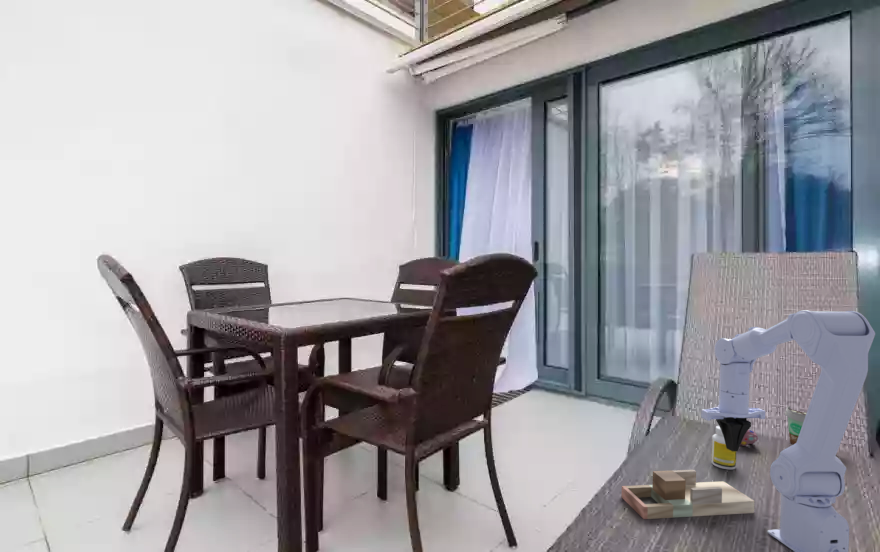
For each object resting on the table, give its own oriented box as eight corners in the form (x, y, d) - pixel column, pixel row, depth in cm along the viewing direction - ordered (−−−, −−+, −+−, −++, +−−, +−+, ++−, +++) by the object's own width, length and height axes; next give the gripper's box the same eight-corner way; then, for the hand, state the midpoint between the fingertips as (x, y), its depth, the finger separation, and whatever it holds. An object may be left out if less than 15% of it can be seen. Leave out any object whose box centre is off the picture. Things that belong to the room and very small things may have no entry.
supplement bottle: (739, 471, 113) (741, 432, 112) (716, 469, 114) (717, 431, 113) (730, 462, 118) (731, 425, 118) (707, 460, 119) (709, 423, 119)
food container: (774, 441, 133) (775, 407, 133) (786, 438, 136) (787, 405, 135) (824, 457, 122) (825, 421, 122) (836, 453, 124) (837, 418, 124)
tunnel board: (754, 512, 93) (754, 486, 93) (643, 519, 90) (644, 492, 90) (723, 492, 102) (724, 468, 102) (621, 497, 99) (622, 472, 99)
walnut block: (685, 499, 94) (685, 480, 94) (665, 500, 93) (665, 481, 93) (671, 488, 98) (672, 470, 98) (652, 489, 98) (652, 471, 97)
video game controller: (717, 448, 131) (721, 431, 128) (713, 436, 135) (717, 419, 132) (756, 452, 128) (761, 435, 125) (751, 440, 132) (756, 423, 129)
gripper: (748, 385, 107) (746, 441, 108) (692, 386, 105) (691, 443, 106) (773, 394, 100) (771, 454, 101) (714, 395, 98) (712, 456, 99)
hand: (732, 449), depth 103 cm, fingers closed
